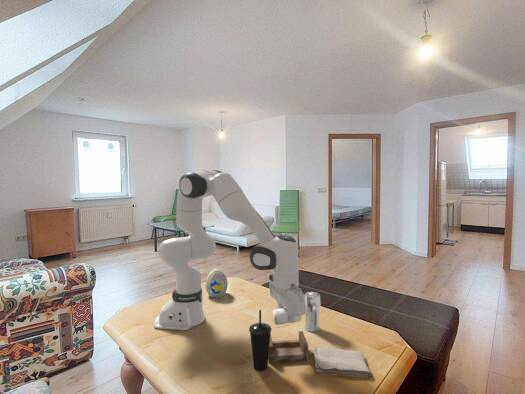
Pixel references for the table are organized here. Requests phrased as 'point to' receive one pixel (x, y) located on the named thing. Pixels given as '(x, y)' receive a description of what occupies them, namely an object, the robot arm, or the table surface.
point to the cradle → (288, 350)
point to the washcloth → (341, 362)
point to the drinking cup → (260, 344)
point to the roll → (283, 316)
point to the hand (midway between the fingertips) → (286, 317)
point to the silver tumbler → (312, 311)
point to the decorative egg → (216, 283)
